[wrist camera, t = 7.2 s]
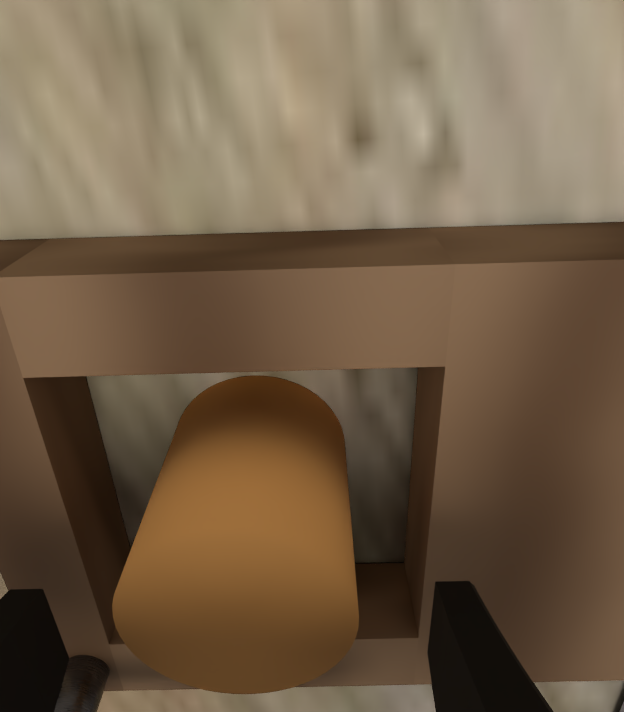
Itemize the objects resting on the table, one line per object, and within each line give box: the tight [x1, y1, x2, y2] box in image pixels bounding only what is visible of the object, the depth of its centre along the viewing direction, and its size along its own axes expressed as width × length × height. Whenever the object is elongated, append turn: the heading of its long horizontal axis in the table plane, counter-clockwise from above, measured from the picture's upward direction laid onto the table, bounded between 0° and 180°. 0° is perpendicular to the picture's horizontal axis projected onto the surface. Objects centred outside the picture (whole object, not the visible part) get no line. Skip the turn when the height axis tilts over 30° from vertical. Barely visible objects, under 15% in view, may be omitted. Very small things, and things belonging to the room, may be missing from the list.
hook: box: [54, 655, 110, 712], centre depth 14 cm, size 8×1×6 cm, turn 92°
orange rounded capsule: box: [112, 376, 359, 694], centre depth 12 cm, size 4×4×5 cm
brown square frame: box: [0, 222, 624, 691], centre depth 13 cm, size 16×12×2 cm
